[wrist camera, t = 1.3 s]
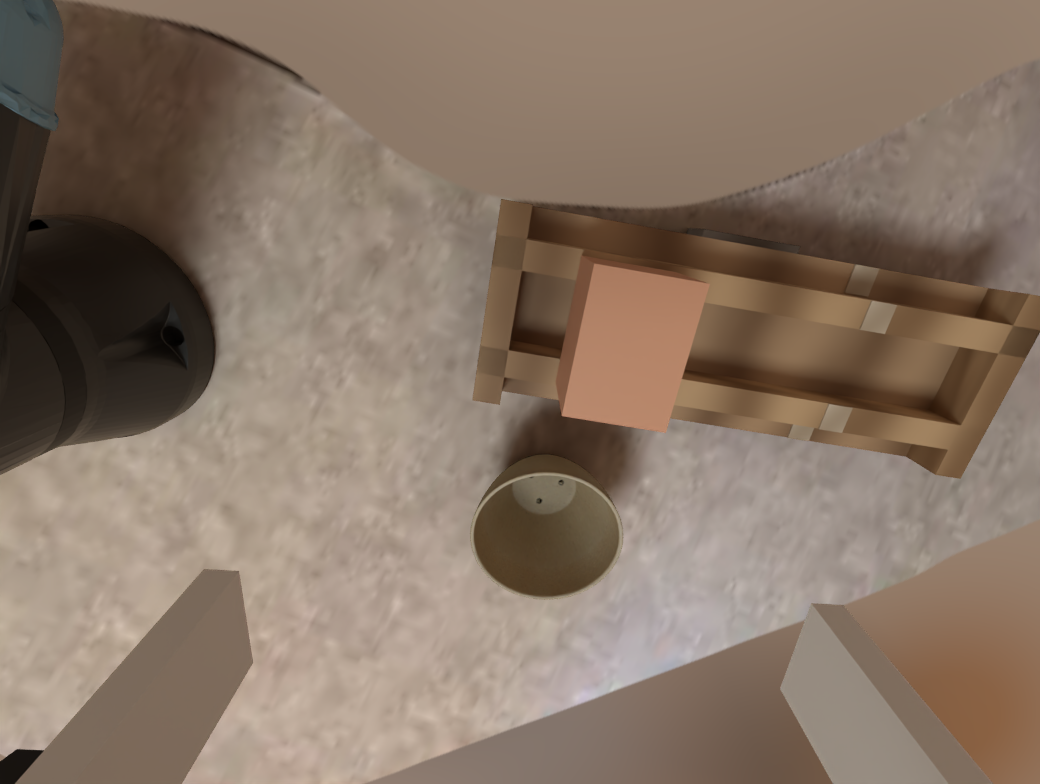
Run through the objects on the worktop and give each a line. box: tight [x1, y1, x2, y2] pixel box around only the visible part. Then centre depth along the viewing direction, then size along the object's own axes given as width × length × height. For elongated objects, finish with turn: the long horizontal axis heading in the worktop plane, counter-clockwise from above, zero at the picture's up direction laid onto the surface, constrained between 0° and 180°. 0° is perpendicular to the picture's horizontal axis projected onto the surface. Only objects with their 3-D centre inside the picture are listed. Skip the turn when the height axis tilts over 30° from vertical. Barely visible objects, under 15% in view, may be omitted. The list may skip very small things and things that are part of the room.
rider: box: [555, 255, 710, 433], centre depth 25 cm, size 5×7×7 cm
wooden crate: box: [473, 199, 1040, 479], centre depth 30 cm, size 30×12×8 cm, turn 80°
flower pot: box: [470, 454, 623, 600], centre depth 35 cm, size 10×10×7 cm
